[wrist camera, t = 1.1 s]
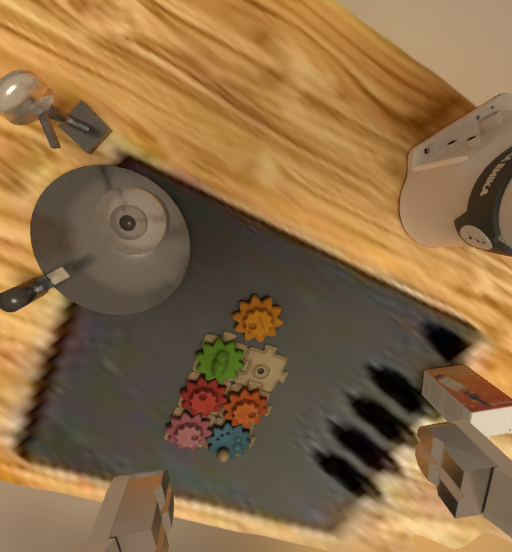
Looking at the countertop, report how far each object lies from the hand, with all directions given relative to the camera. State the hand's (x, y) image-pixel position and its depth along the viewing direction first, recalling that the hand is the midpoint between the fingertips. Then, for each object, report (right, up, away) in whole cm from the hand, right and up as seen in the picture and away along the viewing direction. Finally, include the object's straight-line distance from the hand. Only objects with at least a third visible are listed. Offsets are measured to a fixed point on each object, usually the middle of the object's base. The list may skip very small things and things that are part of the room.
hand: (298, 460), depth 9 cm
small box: (+33, -13, +43) cm, 56 cm away
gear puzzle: (-5, -11, +39) cm, 40 cm away
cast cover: (-17, +13, +28) cm, 35 cm away
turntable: (-22, +9, +29) cm, 38 cm away
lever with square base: (-22, +24, +25) cm, 41 cm away
